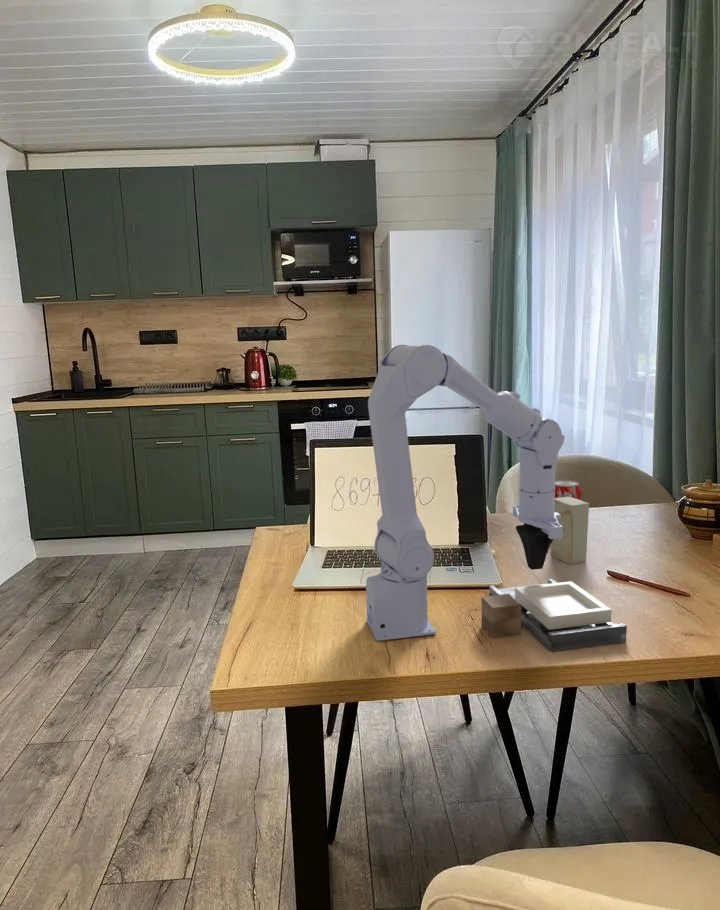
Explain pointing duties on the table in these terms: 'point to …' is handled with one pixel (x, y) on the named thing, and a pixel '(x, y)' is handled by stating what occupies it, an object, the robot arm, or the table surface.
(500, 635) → the walnut block
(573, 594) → the white shallow tray
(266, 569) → the table surface
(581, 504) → the skincare box
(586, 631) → the track
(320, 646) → the table surface
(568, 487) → the soda can
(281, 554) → the table surface
